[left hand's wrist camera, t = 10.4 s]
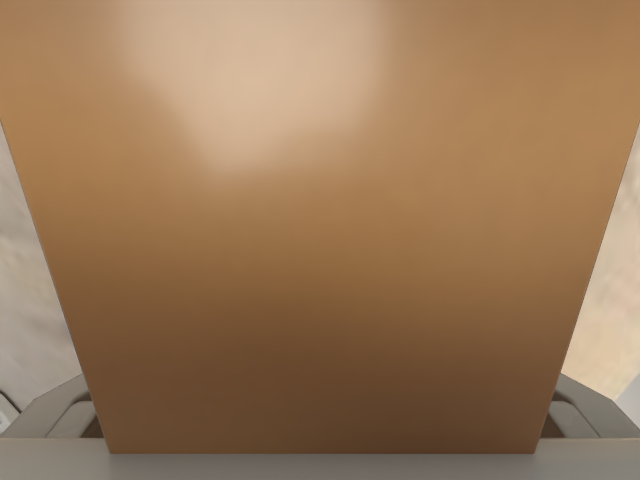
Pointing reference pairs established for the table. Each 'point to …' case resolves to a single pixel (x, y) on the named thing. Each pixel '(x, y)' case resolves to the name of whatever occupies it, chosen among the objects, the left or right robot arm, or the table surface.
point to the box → (320, 210)
